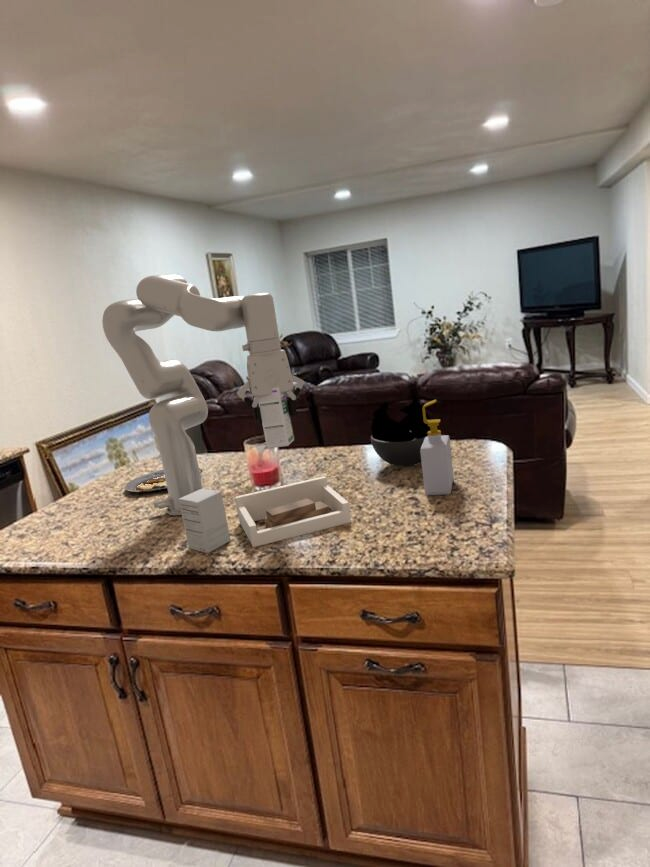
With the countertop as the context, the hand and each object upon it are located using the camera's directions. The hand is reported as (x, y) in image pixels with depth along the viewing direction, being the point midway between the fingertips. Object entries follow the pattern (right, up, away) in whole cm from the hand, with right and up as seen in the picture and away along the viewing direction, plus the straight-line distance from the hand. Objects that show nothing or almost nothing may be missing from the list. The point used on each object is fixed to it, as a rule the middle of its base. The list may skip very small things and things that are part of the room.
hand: (276, 418), depth 146 cm
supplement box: (-15, -30, -4) cm, 34 cm away
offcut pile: (+5, -27, -1) cm, 27 cm away
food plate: (-41, -21, +54) cm, 71 cm away
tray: (+4, -26, +2) cm, 26 cm away
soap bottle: (+42, -18, +12) cm, 48 cm away
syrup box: (+1, -6, +1) cm, 7 cm away
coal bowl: (+37, -13, +35) cm, 53 cm away
